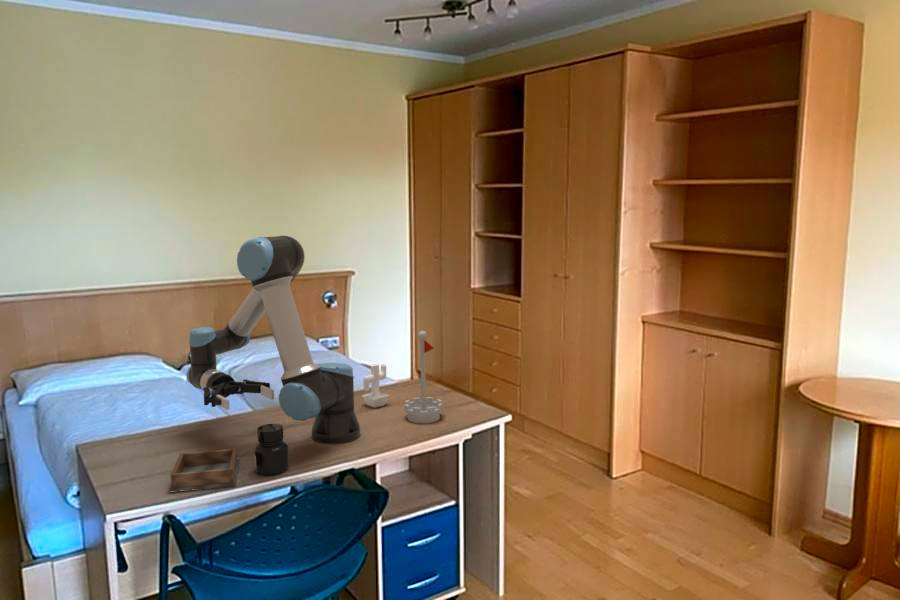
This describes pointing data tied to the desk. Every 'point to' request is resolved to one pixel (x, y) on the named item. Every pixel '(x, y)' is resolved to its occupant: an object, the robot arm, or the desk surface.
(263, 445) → the ink bottle
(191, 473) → the tray
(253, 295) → the robot arm
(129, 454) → the desk surface
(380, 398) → the figurine
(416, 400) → the flag stand
